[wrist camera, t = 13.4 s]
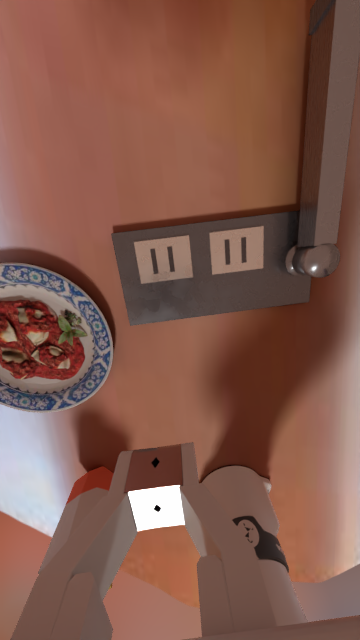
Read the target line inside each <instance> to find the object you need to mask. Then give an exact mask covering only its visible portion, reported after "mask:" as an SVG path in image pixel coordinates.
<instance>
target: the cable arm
mask: <svg viewBox="0 0 360 640" xmlns="http://www.w3.org/2000/svg"><path fill="white" fill-rule="evenodd" d="M309 35H311V50H310V66H309V81H308V96H307V111H306V126H305V142H304V157H303V172H302V187H301V202H300V218H299V233H298V247H300V248H299V249H298V250H297V251H296V252H295V254H294V256H293V259H292V266H293V269H294V271H295V272H296V273H298V274H300V275H305V276H312V277H326V276H328V275H330V274H331V273H332V272H333V271H334V270H335V269H336V268H337V266H338V264H339V261H340V252H339V250H338V248H337V247H336V246H335V245H334V244H336V243H337V237H338V228H339V220H340V212H341V204H342V195H343V187H344V179H345V171H346V162H347V154H348V146H349V137H350V129H351V121H352V113H353V104H354V96H355V88H356V80H357V71H358V63H359V55H360V0H316V1H315V3H314V5H313V6H312V8H311V10H310V26H309Z"/></svg>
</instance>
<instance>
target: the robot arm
mask: <svg viewBox="0 0 360 640" xmlns="http://www.w3.org/2000/svg"><path fill="white" fill-rule="evenodd" d="M270 489H271V483H270V480H269V479H267V478H264V477H261V476H259V475H258V474H257V473H256V472H254V471H253V470H251V469H249V468H247V467H243V466H228V467H224V468H220V469H218V470H216V471H214V472H212V473H211V474H209V475H208V476H207V477H206V478H205V479H204V480H203V482H202V483H200V484H199V480H198V472H197V464H196V457H195V449H194V443H193V442H192V443H185V444H177V445H170V446H163V447H157V448H149V449H139V450H131V451H122V452H121V453H120V454H119V456H118V460H117V464H116V467H115V471H114V474H113V478H112V482H111V485H110V489H109V492H108V496H103V498H102V499H101V500H100V501H99V502H98V504H97V505H96V506H95V507H94V509H93V510H92V511H91V512H90V513H89V515H88V516H87V517H86V518H85V519H84V521H83V522H82V523H81V524H80V526H79V527H78V528H77V529H76V530H75V532H74V533H73V534H72V535H71V537H70V538H69V539H68V540H67V541H66V543H65V544H64V545H63V546H62V548H61V549H60V550H59V551H58V552H57V554H56V555H55V556H54V557H53V558H52V560H51V561H50V562H49V563H48V565H47V566H46V567H45V568H44V569H43V571H42V572H41V573H40V574H39V576H38V577H37V579H36V581H35V584H34V586H33V588H32V591H31V593H30V595H29V598H28V600H27V602H26V604H25V607H24V609H23V612H22V614H21V616H20V619H19V621H18V623H17V625H16V628H15V630H14V632H13V635H12V637H11V639H10V640H111V638H112V631H113V628H112V626H111V623H110V620H109V618H108V615H107V612H106V609H105V606H104V604H103V599H104V597H105V595H106V593H107V591H108V589H109V587H110V585H111V583H112V582H113V580H114V577H115V575H116V574H117V572H118V570H119V568H120V566H121V564H122V562H123V560H124V558H125V556H126V554H127V552H128V550H129V548H130V546H131V544H132V542H133V540H134V538H135V537H136V535H137V531H139V530H144V529H150V528H156V527H163V526H173V525H183V524H185V527H186V529H187V531H188V533H189V534H190V536H191V538H192V540H193V542H194V544H195V546H196V548H197V550H198V552H199V554H200V556H201V557H200V559H199V561H198V563H197V574H198V588H199V601H200V614H201V628H202V637H199V638H192V639H184V640H360V615H357V616H349V617H342V618H336V619H328V620H321V621H314V622H308V621H307V619H306V616H305V614H304V612H303V609H302V607H301V605H300V602H299V600H298V597H297V595H296V592H295V590H294V587H293V585H292V582H291V580H290V577H289V574H288V572H289V568H288V565H287V562H286V558H285V555H284V552H283V550H282V549H281V546H280V544H279V541H278V539H277V533H278V530H279V521H278V519H277V516H276V513H275V511H274V508H273V505H272V503H271V500H270V497H269V492H270Z"/></svg>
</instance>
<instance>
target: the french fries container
mask: <svg viewBox="0 0 360 640" xmlns="http://www.w3.org/2000/svg"><path fill="white" fill-rule="evenodd" d="M113 474H114V473H113V472H111V471H110V470H108V469H107V468H105V467H104V466H102V467H99V468H97V469H94V470H91V471H89V472H88V473H86V474H85V475H84V476H82V477H81V478H80V479H78V480H77V481H76V482H75V483H74V486H73V488H72V491H71V493H70V496H69V498H68V501H67V503H66V506H65V508H64V511H63V513H62V516H61V518H60V520H59V523H58V525H57V528H56V530H55V533H54V535H53V538H52V540H51V543H50V545H49V548H48V550H47V553H46V555H45V558H44V560H43V562H42V565H41V567H40V570H39V572H38V574H40V573H41V572H42V571H43V569H44V568H45V567H46V566H47V565H48V563H49V562H50V561H51V560H52V558H53V557H54V556H55V555H56V554H57V552H58V551H59V550H60V549H61V548H62V546H63V545H64V544H65V543H66V541H67V540H68V539H69V538H70V537H71V535H72V534H73V533H74V532H75V530H76V529H77V528H78V527H79V526H80V524H81V523H82V522H83V521H84V519H85V518H86V517H87V516H88V515H89V513H90V512H91V511H92V510H93V509H94V507H95V506H96V505H97V504H98V502H99V501H100V500H101V499H102V498H103V496H108V492H109V489H110V485H111V482H112V478H113ZM111 587H112V583H111V585H110V587H109V589H110V588H111ZM109 589H108V590H109Z"/></svg>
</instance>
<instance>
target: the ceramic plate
mask: <svg viewBox="0 0 360 640" xmlns="http://www.w3.org/2000/svg"><path fill="white" fill-rule="evenodd" d="M112 360H113V341H112V336H111V332H110V329H109V326H108V324H107V321H106V319H105V317H104V316H103V314H102V312H101V311H100V309H99V308H98V306H97V305H96V304H95V302H94V301H93V300H92V299H91V298H90V297H89V296H88V295H87V294H86V293H85V292H84V291H83V290H82V289H81V288H79V287H78V286H77V285H76V284H74V283H73V282H71V281H70V280H68V279H67V278H65V277H63V276H61V275H59V274H57V273H55V272H53V271H50V270H48V269H45V268H42V267H39V266H34V265H30V264H24V263H0V404H2V405H5V406H8V407H10V408H14V409H18V410H22V411H28V412H40V413H43V412H56V411H62V410H66V409H69V408H72V407H75V406H77V405H79V404H81V403H83V402H84V401H86V400H88V399H89V398H90V397H92V396H93V395H94V394H95V393H96V392H97V391H98V390H99V389H100V387H101V386H102V385H103V383H104V382H105V380H106V378H107V377H108V374H109V372H110V369H111V365H112Z"/></svg>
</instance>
